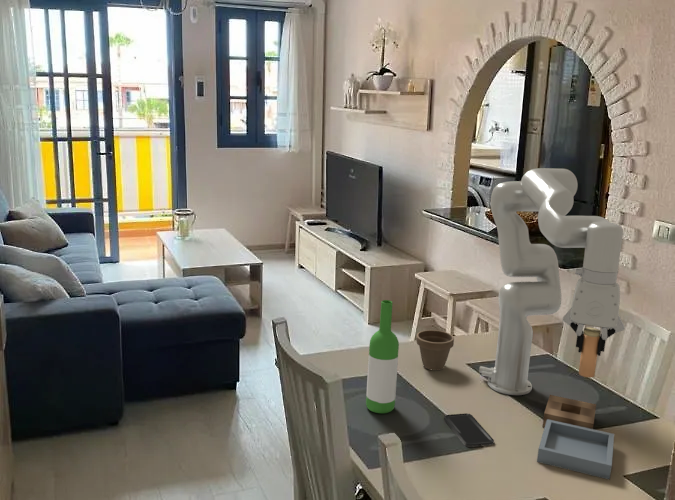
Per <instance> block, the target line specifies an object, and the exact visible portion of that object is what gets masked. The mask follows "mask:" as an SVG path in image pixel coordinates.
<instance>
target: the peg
mask: <svg viewBox="0 0 675 500" xmlns="http://www.w3.org/2000/svg"><path fill="white" fill-rule="evenodd" d="M601 333H602V330H601V329H598V328H597V327H589V326H588V327H585V328H584V327H583V336H584V337H583V345H582V352H580V357H579V359H580V360H579V365H578V375H579V376H581V377H584V378H594V377H595V376H596V370H597V369H596V368H597V359H598V355H597V352H598V344H599V338H600V336H601Z"/></svg>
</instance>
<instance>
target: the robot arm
mask: <svg viewBox="0 0 675 500" xmlns="http://www.w3.org/2000/svg"><path fill="white" fill-rule="evenodd" d="M578 186H579V185H578V180H577V177H576V175H575V174H574V173H573V172H572V171H571V170H569V169H567V168H552V167H549V168H548V167H546V168H544V167H542V168H540V167H539V168H538V167H537V168H531V169H530V170H527V171H526V172H525V173H524V175H523V176H522V177H521V180H519V181H517V180H515V181H514V180H511V181H504V182H500V183H498V184H496V185H495V186H494V187H493V190H492V192H491V196H490V209H491V213H492V217H493V220H494V223H495V226H496V229H497V236H498V237H497V238H498V248H499V249H498V250H499V256H500V257H499V259H500V265H501V266H500V268H501V270H502V272H503V274H504V275H505V276H507V277H510V278H536V280H537V281H512V282H508V283H506V284H504V285H502V286H501V288H500V289H499V291H498V309H499V324H498V335H497V343H496V344H497V345H496V353H495V362H494V367H487V366H482V365H480V366H479V368H478V369H479V370H478V372H479V373H481V376H484V377H488V378H487V385H488V386H489V388H490V389H492V390H494V391H496V392H497V393H500V394H504V395H508V396H522V395H523V396H524V395H528V394H530V393H531V392H532V390H533V385H532V383H531V381H530V380H528V376H529V368H530V361H531V359H530V358H531V353H532V352H531V351H532V344H533V335H534V331H533V327H532V324H531V323H530V322H529V321H528V319H527V317H530V316H545V315H546V316H547V315H548V316H549V315H554V314H556V313H557V312H559V310H560V308H561V305H562V300H563V299H562V288H561V280H560V279H561V278H560V268H559V261H558V255H557V253H556V252H555V250H554V248H553V247H552V246H550V245H548V244H545V243H531V241H530V234H529V228H528V225H527V224H526V222H525V221H524V219H523V217H521V216H520V215H519V214H518V213H517V212H538V213H537V222H538V223H537V224H538V228H539V231H540V232H541V234H542V235H543V236H544V237H545V238H546V240H547V241H548V242H549V243H550V244H551V245H554V246H555V247H557V248H561V249H562V248H563V249H571V248H577V249H578V248H579V249H580V248H582V249H584V256H583V262H582V263H583V264H582V267H581V268H575V275H578V276H580V278H578V280H577V281H576V285H575V287H574V293H573V298H572V303H571V307H570V309H569V310H568V311H567V312H566V313H565V314H564V315H563V317H562V321H563V322H564V323H565V324H567V325H568V326H569V327H571V329H572V330H573V331H574V333H575V335H576V342H575V348H578V349H577V351H578V353H581V352H582V345H583V337H584V336H583V334H584V327H585V326H588V327H589V326H590V327H593V328H601V329H600V330H601V333H600V338H599V344H598V352H597V357H600V356H601V354H602V353H603V352H605V348H606V341H607V340H608V338H610V337H611V336H613V335H615V334H617V333H619V332H623V331H624V330H625V329H626V327H625V325H624V322H623V320H622V319H621V316H620V303H621V302H620V301H621V290H620V289H621V288H620V284H619V283H618V282H617V280H618V273H619V265H620V257H621V252H622V244H623V236H624V229H623V227H622V226H621V225H619V224H618V223H614V222H610V221H609V220H608V219H606V218H605V217H602V216H600V215H599V216H598V215H567V214H568V213H569V212H570V211H571V210H572V208H573V205H574V202H575V201H574V196H575V195H576V193H577V191H578Z"/></svg>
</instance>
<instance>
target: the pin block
mask: <svg viewBox="0 0 675 500" xmlns="http://www.w3.org/2000/svg"><path fill="white" fill-rule="evenodd" d="M596 410H597V404H596V403H590V402H586V401H582V400H579V399H577V400H576V399H572V398H567V397H564V396H562V397H561V396H558V395H553V394H549V397H548V400H547V403H546V406H545V409H544V411H543V412H544V414H543V418H542V419H543V420H542V428H545V424H546V421H547V419H549V420H553V421H558V422H562V423H567V424H571V425H576V426H580V427H585V428H590V429H594V424H595V417H596V416H595V415H596Z"/></svg>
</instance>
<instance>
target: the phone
mask: <svg viewBox="0 0 675 500" xmlns="http://www.w3.org/2000/svg"><path fill="white" fill-rule="evenodd" d="M443 420H444V422H445V423H446V424H447V426H448V427H449V428H450V429H451V430H453V431H452V432H453V433H454V435H456V437H457V438H458V439H459V441H460V442H461V443H462V445H464V446H465V447H466V448H472V447H473V448H475V447H485V446H493V445H494V444H495V442H494V441H495V439H493V437H492V436H491V435H490V433H488V431H486V430H485V428H484V427H483V426H482V425H481V423H479V422H478V420H477V419H476V418H475V417H474V416H473V415H472V414H470V413H456V414H455V413H453V414H445V415H444V416H443Z"/></svg>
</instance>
